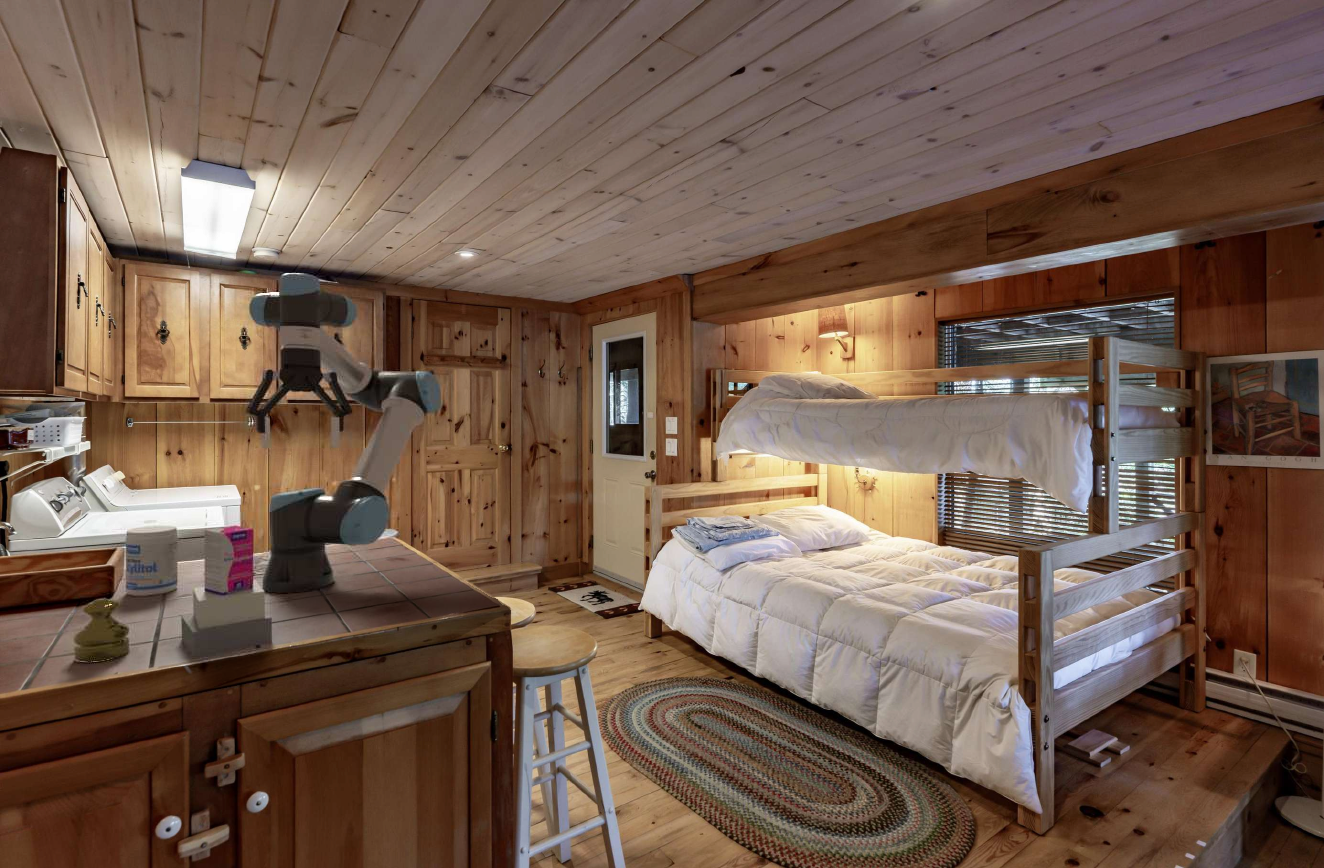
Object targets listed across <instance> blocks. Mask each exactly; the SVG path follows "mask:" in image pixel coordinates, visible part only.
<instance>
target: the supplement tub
mask: <svg viewBox="0 0 1324 868" xmlns="http://www.w3.org/2000/svg"><path fill="white" fill-rule="evenodd" d="M177 531H178V528H177V526H173V525H152V526H151V525H149V526H139V527H134V528H130V529H127V531H126V537H125V592H126V593H127V594H128V595H129V596H132V595H133V596H134V597H149V596H148V595H150V596H154V595H155V596H156V595H162V594H166V593H168V592H172V591H174V590H175V589H176V588H177V587H178V562H179V561H178V557H179V556H178V547H179V545H178V542H179V541H178V532H177Z"/></svg>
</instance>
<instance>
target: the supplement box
mask: <svg viewBox="0 0 1324 868" xmlns="http://www.w3.org/2000/svg"><path fill="white" fill-rule="evenodd" d="M253 555H254V528H250V527H244V526H240V525H231V526H225V527H224V526H223V527H217V528H216V527H215V528H211V529H204V571H205V574H204V586H203V587H205V591H206V592H210V593H214V594H218V595H226V594H229V593H233V592H238V591H242V590H246V589H251V588H253V580H254V572H253Z"/></svg>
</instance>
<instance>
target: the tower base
mask: <svg viewBox="0 0 1324 868" xmlns="http://www.w3.org/2000/svg"><path fill="white" fill-rule="evenodd" d="M272 621H273V619H272V616H271V615H270V614H268V613H267V612H266V611H265V618H262V619H256V620H250V621H244V622H239V623H233V624H227V625H221V626H215V627H210V628H204V629H199V627H198V625H197V622H196V620H195V617H194V613H190V614H185V615H181V641H182V642H184V643H183V645H186V646H185V648H186V649H187V650H188V651H189V652H188V653H190V655H191V657H192V658H193V659H197V658H198V659H200V658H203V657H207V656H209V657H210V656H212V655H218V654H221V653H222V654H223V653H227V652H230V651H231V652H233V651H237V650H241V649H245V648H250V647H254V646H259V645H264V644H267V643H273V625H272Z"/></svg>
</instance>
